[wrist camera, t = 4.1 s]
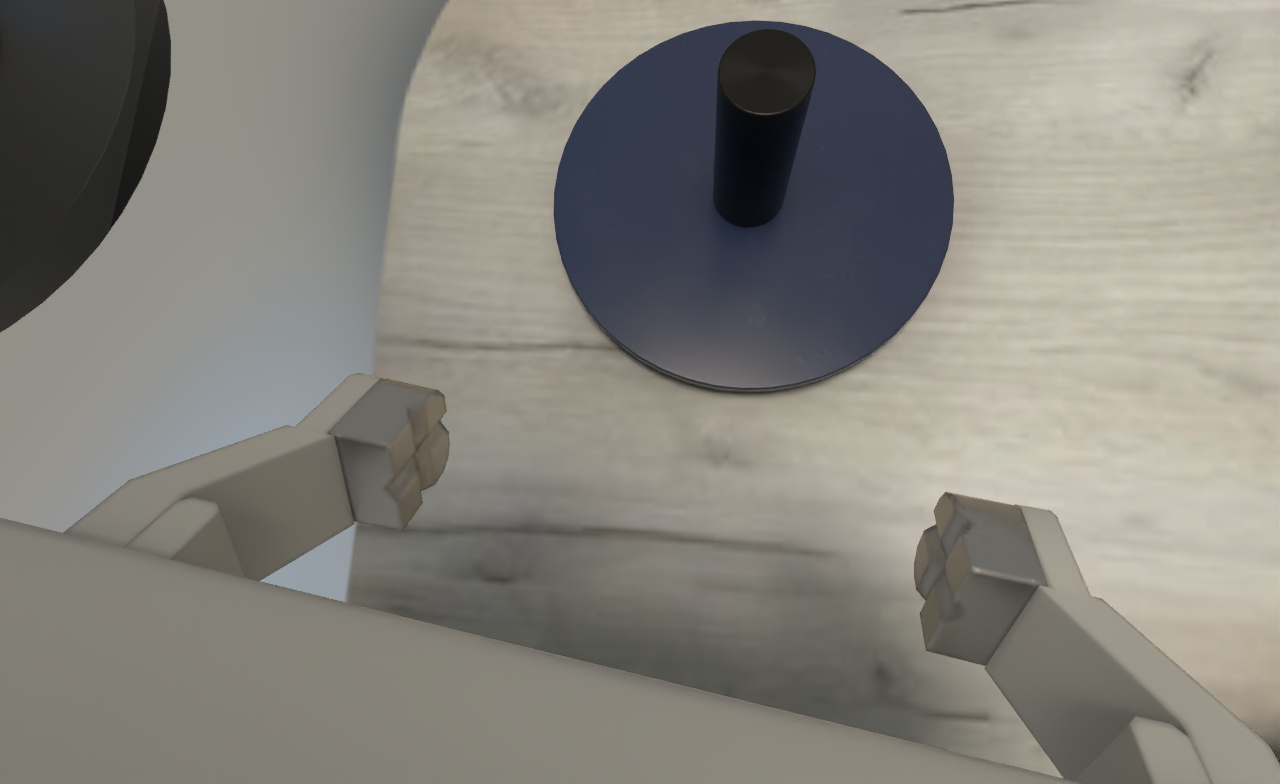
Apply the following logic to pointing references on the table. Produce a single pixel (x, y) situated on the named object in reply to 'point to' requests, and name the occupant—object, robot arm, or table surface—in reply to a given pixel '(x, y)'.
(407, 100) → the table surface
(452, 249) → the table surface
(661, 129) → the lid
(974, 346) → the table surface
